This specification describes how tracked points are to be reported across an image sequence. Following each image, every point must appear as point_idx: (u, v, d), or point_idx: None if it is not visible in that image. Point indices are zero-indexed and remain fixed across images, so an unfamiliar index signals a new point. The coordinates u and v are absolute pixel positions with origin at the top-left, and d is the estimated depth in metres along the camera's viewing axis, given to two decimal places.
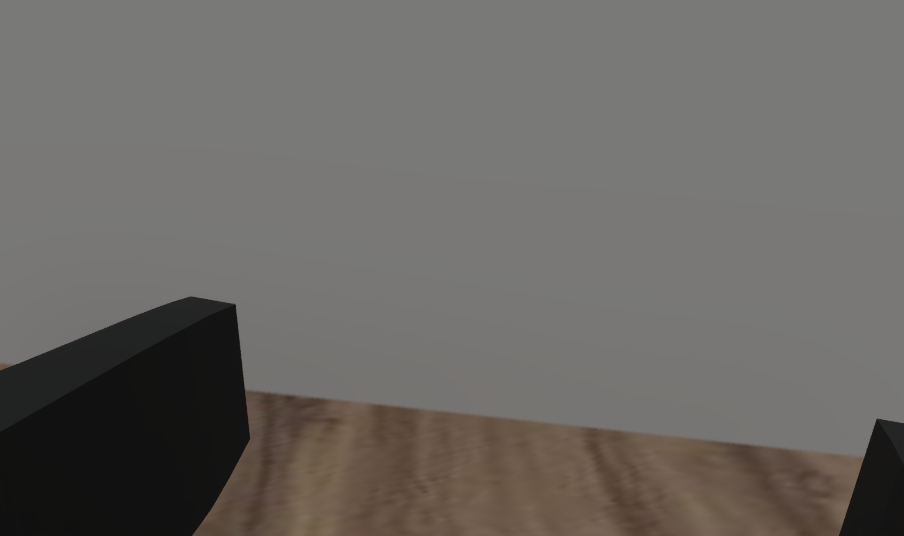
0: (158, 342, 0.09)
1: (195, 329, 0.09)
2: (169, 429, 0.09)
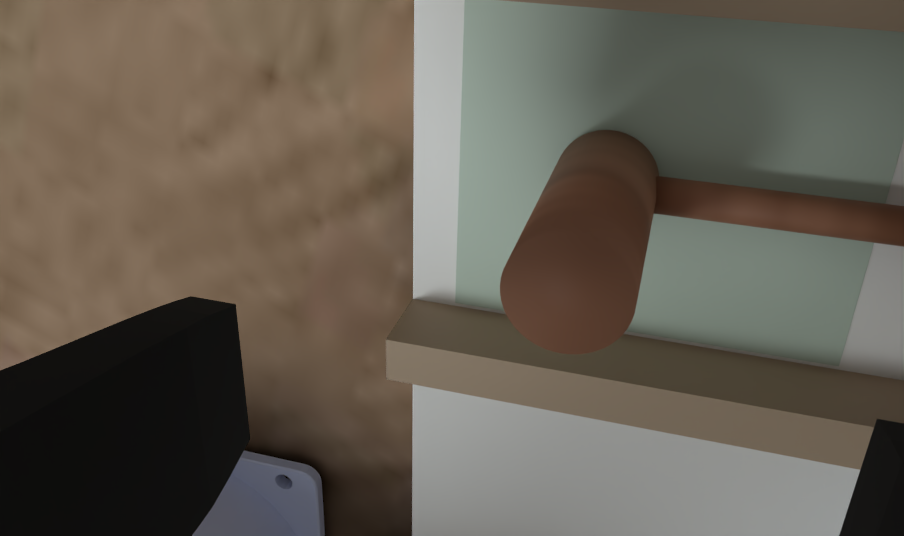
0: (158, 342, 0.09)
1: (195, 329, 0.09)
2: (169, 429, 0.09)
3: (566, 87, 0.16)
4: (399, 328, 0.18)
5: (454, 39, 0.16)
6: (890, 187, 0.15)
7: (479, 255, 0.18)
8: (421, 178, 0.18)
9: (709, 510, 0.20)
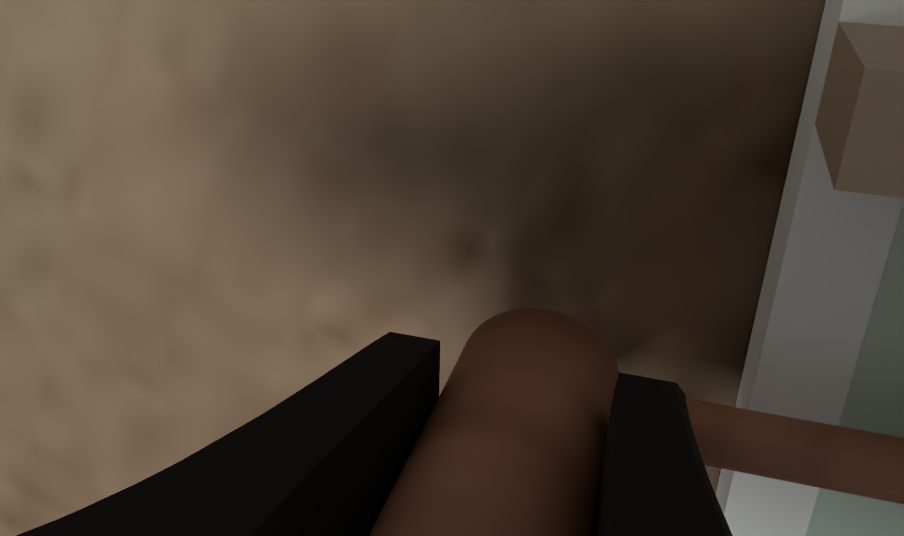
0: (393, 388, 0.08)
1: (415, 371, 0.09)
2: (391, 478, 0.09)
3: None
4: None
5: (874, 237, 0.09)
6: None
7: None
8: None
9: None
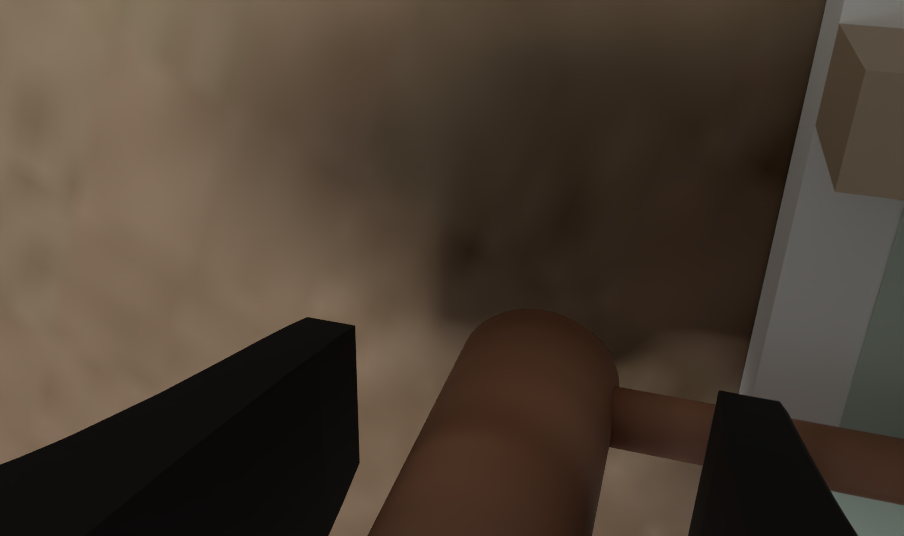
0: (294, 369, 0.08)
1: (323, 353, 0.09)
2: (298, 458, 0.09)
3: None
4: None
5: (874, 239, 0.09)
6: None
7: None
8: None
9: None
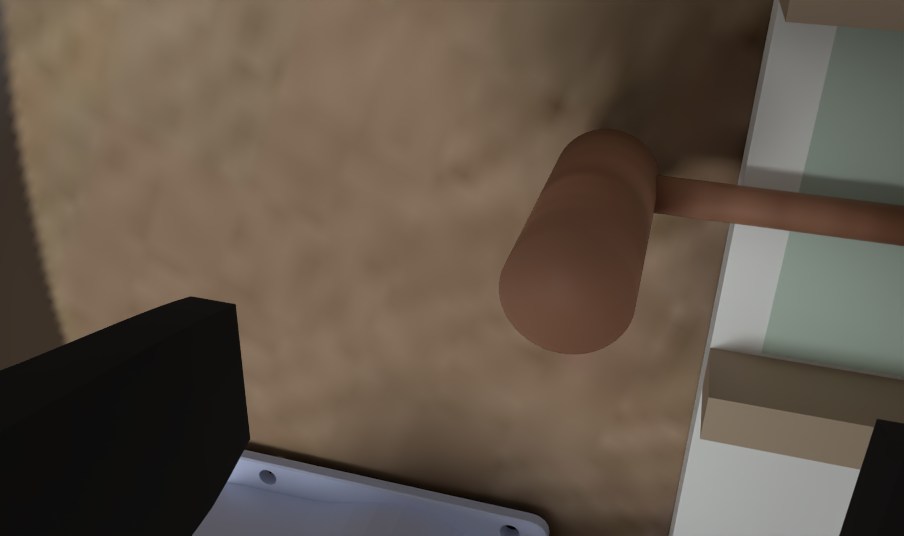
0: (158, 342, 0.09)
1: (195, 329, 0.09)
2: (169, 429, 0.09)
3: None
4: (715, 383, 0.17)
5: (815, 71, 0.15)
6: None
7: (799, 304, 0.17)
8: None
9: None
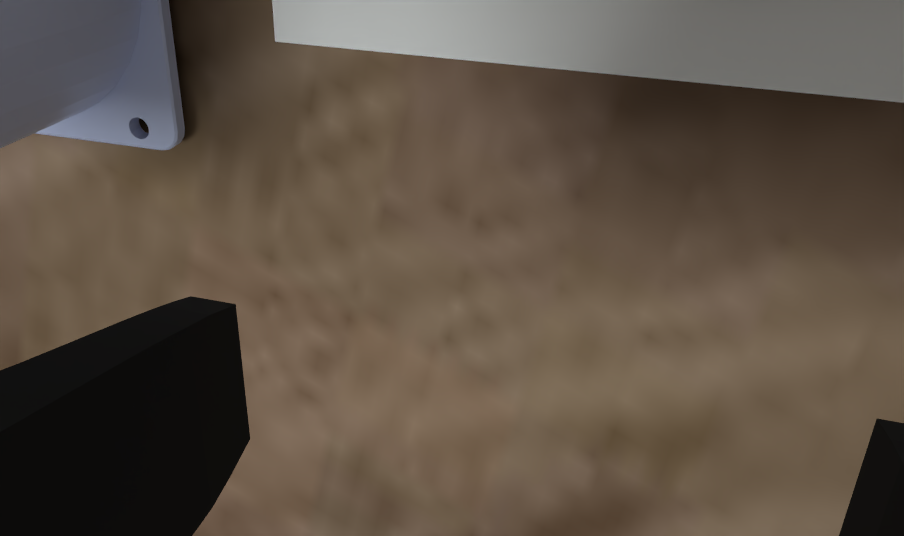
0: (158, 342, 0.09)
1: (195, 329, 0.09)
2: (169, 429, 0.09)
3: None
4: None
5: None
6: None
7: None
8: None
9: None
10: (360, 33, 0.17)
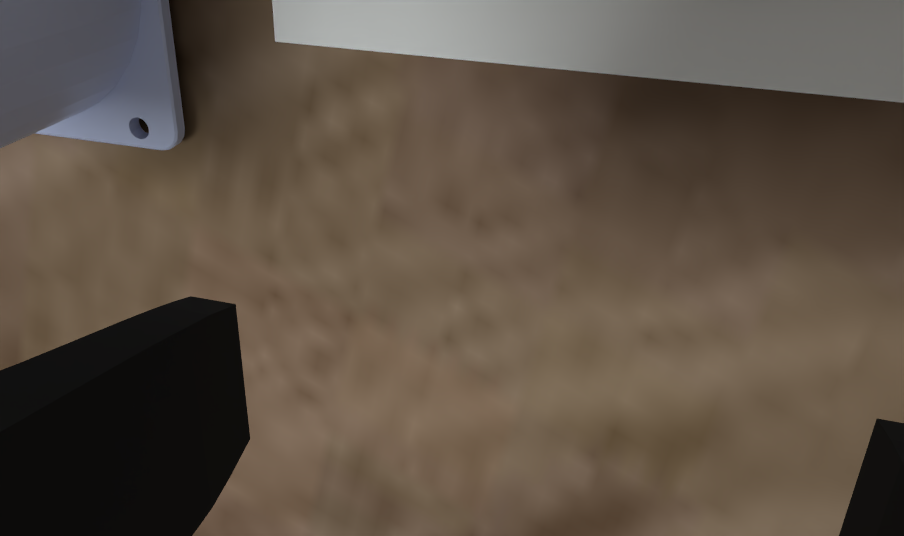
0: (158, 342, 0.09)
1: (195, 329, 0.09)
2: (169, 429, 0.09)
3: None
4: None
5: None
6: None
7: None
8: None
9: None
10: (360, 33, 0.17)
